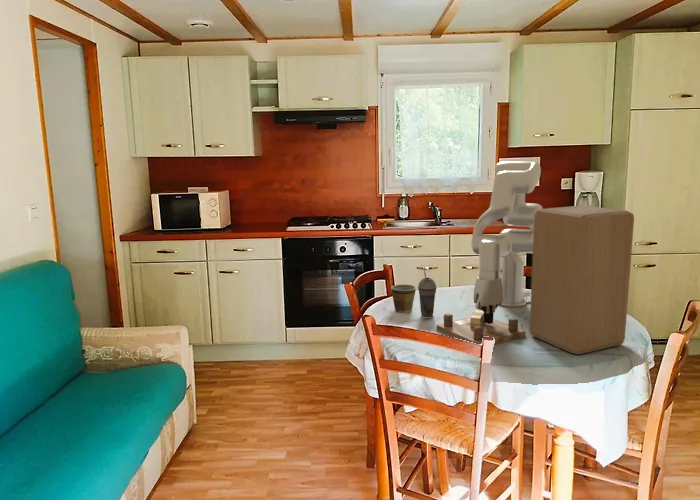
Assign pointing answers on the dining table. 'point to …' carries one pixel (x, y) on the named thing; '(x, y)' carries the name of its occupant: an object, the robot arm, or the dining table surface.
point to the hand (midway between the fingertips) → (488, 322)
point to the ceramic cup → (403, 297)
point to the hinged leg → (477, 318)
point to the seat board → (487, 331)
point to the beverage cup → (427, 296)
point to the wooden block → (581, 277)
